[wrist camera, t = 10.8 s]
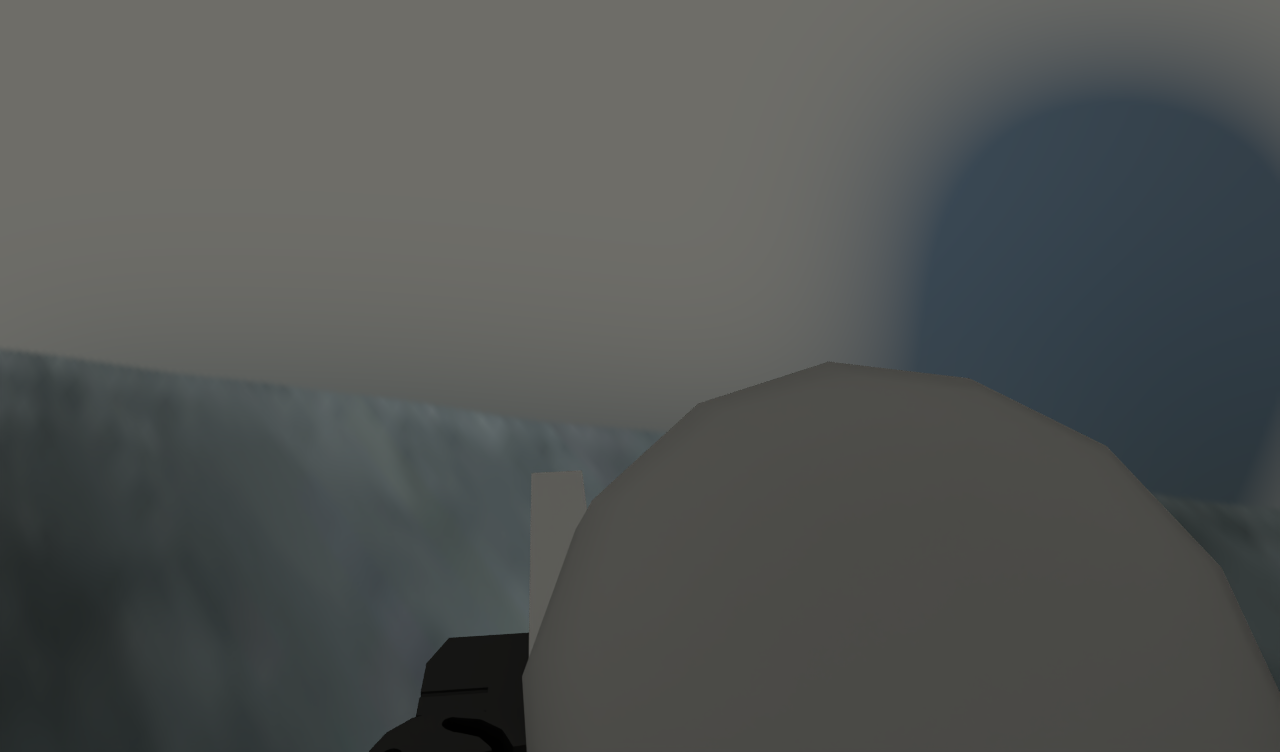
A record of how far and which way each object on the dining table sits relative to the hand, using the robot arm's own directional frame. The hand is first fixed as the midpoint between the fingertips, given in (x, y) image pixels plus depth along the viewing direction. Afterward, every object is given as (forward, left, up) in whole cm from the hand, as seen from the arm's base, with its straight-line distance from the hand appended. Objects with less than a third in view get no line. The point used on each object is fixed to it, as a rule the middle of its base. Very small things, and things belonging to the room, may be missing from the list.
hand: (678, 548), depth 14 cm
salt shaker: (+2, +3, -4) cm, 6 cm away
